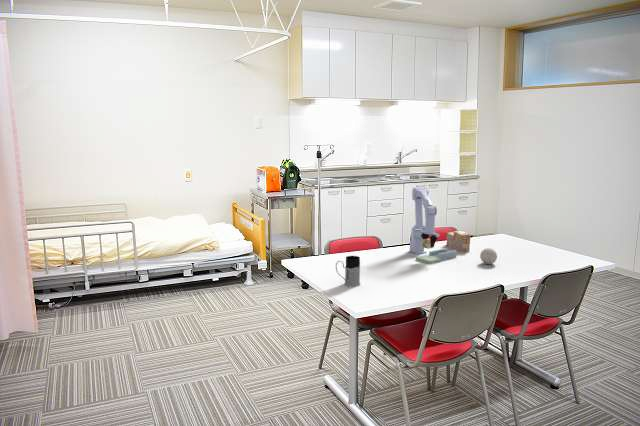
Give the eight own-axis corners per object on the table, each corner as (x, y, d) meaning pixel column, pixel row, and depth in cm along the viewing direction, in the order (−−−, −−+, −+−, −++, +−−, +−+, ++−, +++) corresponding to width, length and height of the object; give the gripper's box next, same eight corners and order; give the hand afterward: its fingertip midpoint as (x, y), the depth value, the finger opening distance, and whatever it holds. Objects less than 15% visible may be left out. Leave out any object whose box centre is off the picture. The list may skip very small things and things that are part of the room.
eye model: (481, 265, 321) (482, 250, 319) (478, 261, 331) (479, 246, 329) (497, 266, 320) (499, 250, 318) (494, 262, 329) (495, 246, 328)
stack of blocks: (446, 245, 374) (447, 228, 372) (453, 244, 376) (454, 228, 374) (461, 252, 354) (462, 234, 352) (469, 251, 356) (470, 234, 353)
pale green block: (415, 260, 333) (416, 253, 332) (444, 254, 348) (444, 247, 348) (429, 264, 323) (430, 257, 323) (458, 257, 339) (458, 251, 338)
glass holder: (363, 285, 280) (363, 258, 277) (338, 288, 275) (338, 261, 273) (356, 281, 288) (357, 254, 286) (332, 283, 283) (333, 256, 281)
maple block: (422, 247, 329) (422, 239, 329) (427, 246, 332) (428, 238, 331) (428, 248, 325) (428, 240, 325) (433, 247, 328) (434, 239, 327)
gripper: (417, 223, 330) (416, 244, 333) (434, 227, 319) (433, 249, 321) (424, 222, 334) (423, 243, 337) (442, 226, 323) (441, 247, 325)
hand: (428, 246), depth 329 cm, fingers closed on maple block, 5 cm apart
